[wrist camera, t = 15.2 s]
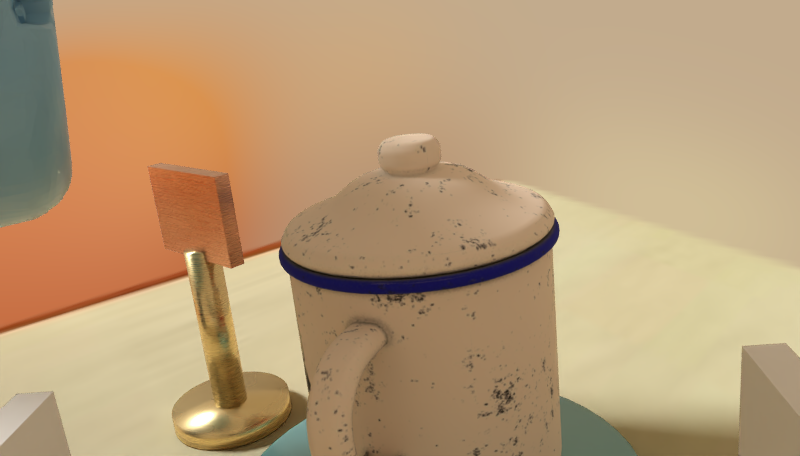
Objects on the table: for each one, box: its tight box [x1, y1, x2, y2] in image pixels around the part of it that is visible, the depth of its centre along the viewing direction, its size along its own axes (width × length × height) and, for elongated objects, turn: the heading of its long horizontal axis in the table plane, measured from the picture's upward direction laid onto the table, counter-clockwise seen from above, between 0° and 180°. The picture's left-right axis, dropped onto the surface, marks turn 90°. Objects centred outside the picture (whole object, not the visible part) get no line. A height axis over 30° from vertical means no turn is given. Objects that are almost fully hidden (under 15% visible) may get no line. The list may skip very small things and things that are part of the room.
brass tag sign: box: [148, 163, 291, 450], centre depth 31 cm, size 5×5×11 cm
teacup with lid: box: [279, 134, 562, 456], centre depth 24 cm, size 12×9×12 cm
